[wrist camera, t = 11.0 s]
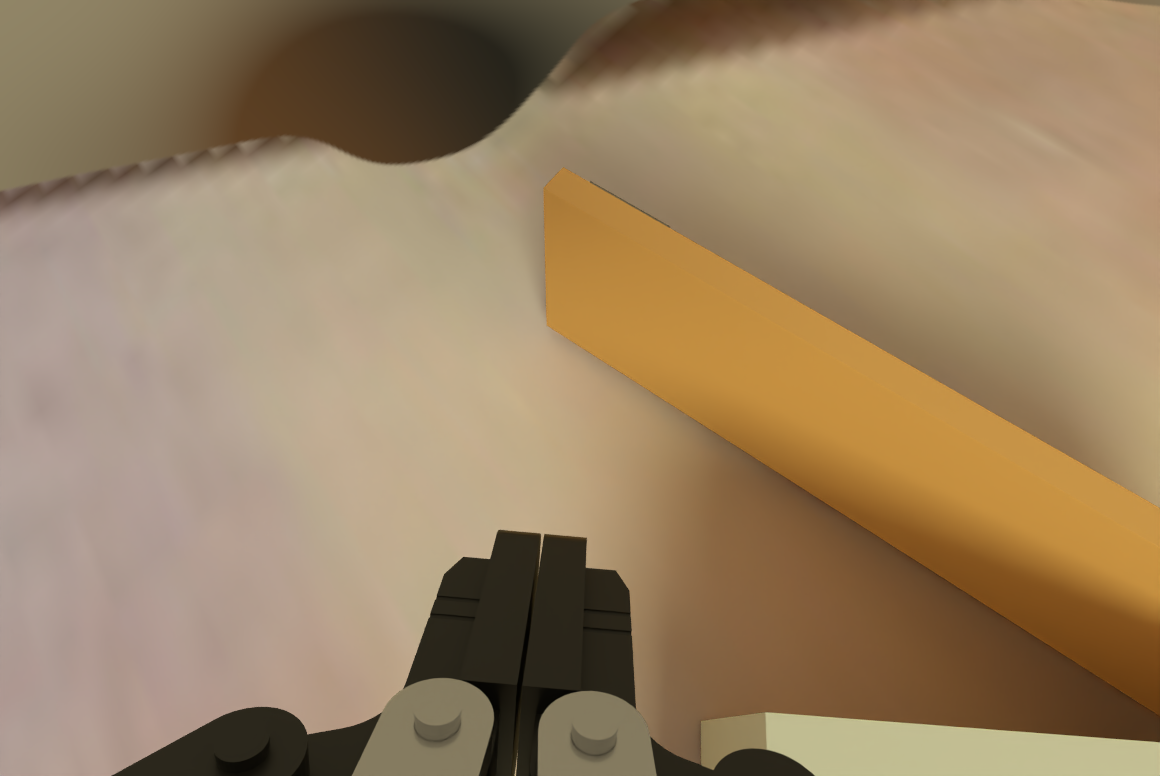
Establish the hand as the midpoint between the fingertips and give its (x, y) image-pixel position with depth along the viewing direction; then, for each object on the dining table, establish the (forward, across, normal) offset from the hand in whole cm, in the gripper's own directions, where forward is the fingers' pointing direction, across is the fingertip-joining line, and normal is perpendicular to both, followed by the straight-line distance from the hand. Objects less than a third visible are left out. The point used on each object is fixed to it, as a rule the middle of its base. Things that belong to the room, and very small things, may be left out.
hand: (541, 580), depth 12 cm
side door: (+13, +10, -4) cm, 17 cm away
